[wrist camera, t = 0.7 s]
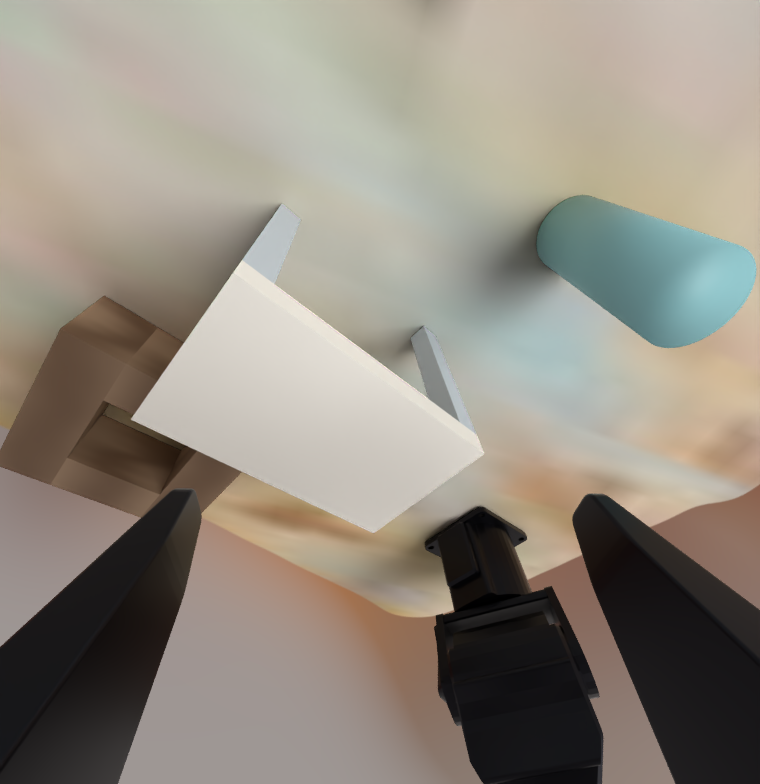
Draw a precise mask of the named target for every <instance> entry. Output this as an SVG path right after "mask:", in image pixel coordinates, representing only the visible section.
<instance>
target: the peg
mask: <svg viewBox="0 0 760 784" xmlns="http://www.w3.org/2000/svg"><path fill="white" fill-rule="evenodd" d="M536 247H537V252H538V255H539V258H540V259H541V261H542V262H543V263H544V264H545V265H546V266H548V267H549V268H550V269H552V270H553V271H554V272H556V273H557V274H558V275H560V276H561V277H563V278H564V279H565V280H567V281H568V282H569V283H571V284H572V285H573V286H575V287H576V288H577V289H579V290H580V291H581V292H583V293H584V294H585V295H587V296H588V297H589V298H591V299H592V300H593V301H595V302H596V303H597V304H599V305H600V306H601V307H603V308H604V309H605V310H607V311H608V312H609V313H611V314H612V315H613V316H615V317H616V318H617V319H619V320H620V321H621V322H623V323H624V324H625V325H627V326H628V327H629V328H631V329H632V330H633V331H635V332H636V333H638V334H639V335H640V336H642V337H643V338H644V339H646V340H647V341H648V342H650V343H651V344H653V345H655V346H658V347H663V348H676V347H682V346H686V345H689V344H692V343H695V342H697V341H699V340H702V339H703V338H705V337H707V336H709V335H711V334H712V333H714V332H715V331H717V330H718V329H719V328H721V327H722V326H723V325H724V324H726V323H727V322H728V321H729V320H730V319H731V318H732V317H733V316H734V315H735V314H736V313H737V312H738V311H739V309H740V308H741V307H742V305H743V304H744V303H745V301H746V299H747V298H748V296H749V294H750V292H751V290H752V288H753V285H754V282H755V277H756V263H755V260H754V258H753V256H752V254H751V253H750V252H749V251H748V250H747V249H745V248H744V247H742V246H739V245H737V244H734V243H731V242H728V241H725V240H722V239H719V238H716V237H713V236H709V235H706V234H703V233H700V232H697V231H694V230H691V229H688V228H685V227H682V226H679V225H676V224H673V223H670V222H667V221H664V220H661V219H658V218H655V217H652V216H649V215H646V214H643V213H640V212H637V211H634V210H631V209H628V208H625V207H622V206H619V205H616V204H613V203H610V202H607V201H604V200H601V199H598V198H595V197H592V196H587V195H579V196H574V197H571V198H568V199H566V200H564V201H563V202H561V203H560V204H558V205H557V206H556V207H554V208H553V209H552V210H551V211H550V212H549V214H548V215H547V216H546V218H545V219H544V221H543V222H542V224H541V226H540V229H539V231H538V235H537V241H536Z"/></svg>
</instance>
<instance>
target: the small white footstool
mask: <svg viewBox="0 0 760 784" xmlns="http://www.w3.org/2000/svg"><path fill="white" fill-rule="evenodd" d="M300 221H301V219H300V218H298V217H297V216H296V215H295V214H294V213H293V212H292V211H290V210H289V209H288V208H287V207H286V206H285V205H283V204H281V205H280V207H279V208H278V210H277V211H276V213H275V214H274V215H273V217H272V218H271V220H270V221H269V222H268V224H267V225H266V227H265V228H264V230H263V231H262V232H261V234H260V235H259V237H258V238H257V239H256V241H255V242H254V244H253V245H252V247H251V248H250V249H249V251H248V252H247V254H246V255H245V256H244V258H243V259H242V261H241V262H240V264H239V265H238V266H237V268H236V269H235V271H234V272H233V273H232V275H231V276H230V278H229V279H228V281H227V282H226V283H225V285H224V286H223V288H222V289H221V291H220V292H219V294H218V295H217V296H216V298H215V299H214V301H213V302H212V304H211V305H210V306H209V308H208V309H207V311H206V312H205V314H204V315H203V316H202V318H201V319H200V321H199V322H198V324H197V325H196V327H195V328H194V329H193V331H192V332H191V334H190V335H189V337H188V338H187V339H186V341H185V342H184V344H183V345H182V347H181V348H180V349H179V351H178V352H177V354H176V355H175V357H174V358H173V360H172V361H171V362H170V364H169V365H168V367H167V368H166V370H165V371H164V372H163V374H162V375H161V377H160V378H159V380H158V381H157V382H156V384H155V385H154V387H153V388H152V390H151V391H150V393H149V394H148V395H147V397H146V398H145V400H144V401H143V403H142V404H141V405H140V407H139V408H138V410H137V411H136V413H135V414H134V415H133V417H132V418H131V420H133V421H135V422H137V423H139V424H141V425H143V426H146V427H148V428H150V429H152V430H154V431H156V432H158V433H160V434H163V435H165V436H167V437H169V438H171V439H173V440H175V441H178V442H180V443H182V444H184V445H186V446H188V447H190V448H192V449H195V450H197V451H199V452H201V453H203V454H205V455H207V456H210V457H212V458H214V459H216V460H218V461H220V462H222V463H224V464H227V465H229V466H231V467H233V468H235V469H237V470H239V471H242V472H244V473H246V474H248V475H250V476H252V477H254V478H256V479H259V480H261V481H263V482H265V483H267V484H269V485H271V486H273V487H276V488H278V489H280V490H282V491H284V492H286V493H288V494H291V495H293V496H295V497H297V498H299V499H301V500H303V501H305V502H308V503H310V504H312V505H314V506H316V507H318V508H320V509H323V510H325V511H327V512H329V513H331V514H333V515H335V516H337V517H340V518H342V519H344V520H346V521H348V522H350V523H352V524H355V525H357V526H359V527H361V528H363V529H365V530H367V531H369V532H372V533H375V532H376V531H377V530H379V529H380V528H382V527H383V526H384V525H386V524H387V523H389V522H390V521H391V520H393V519H394V518H396V517H397V516H398V515H400V514H401V513H403V512H404V511H405V510H407V509H408V508H410V507H411V506H412V505H414V504H415V503H417V502H418V501H419V500H421V499H422V498H423V497H425V496H426V495H428V494H429V493H430V492H432V491H433V490H435V489H436V488H437V487H439V486H440V485H442V484H443V483H444V482H446V481H447V480H449V479H450V478H451V477H453V476H454V475H456V474H457V473H458V472H460V471H461V470H463V469H464V468H465V467H467V466H468V465H469V464H471V463H472V462H474V461H475V460H476V459H478V458H479V457H481V456H482V455H483V454H484V451H483V449H482V446H481V444H480V442H479V439H478V437H477V434H476V432H475V429H474V427H473V425H472V422H471V420H470V417H469V415H468V412H467V410H466V408H465V405H464V403H463V400H462V398H461V396H460V393H459V391H458V388H457V386H456V383H455V381H454V379H453V376H452V374H451V371H450V369H449V366H448V364H447V362H446V359H445V357H444V354H443V352H442V350H441V347H440V345H439V342H438V340H437V337H436V336H435V335H434V334H433V333H432V332H430V331H429V330H428V329H427V328H426V327H425V326H423V327H422V328H421V329H420V330H419V331H418V332H417V333H416V334H414V335H413V336H412V337H411V341H412V345H413V348H414V352H415V355H416V358H417V362H418V365H419V368H420V372H421V375H422V379H423V382H424V385H425V389H426V392H427V396H428V398H427V397H425V396H424V395H423V394H421V393H420V392H419V391H417V390H416V389H415V388H413V387H412V386H410V385H409V384H408V383H406V382H405V381H404V380H402V379H401V378H400V377H398V376H397V375H396V374H394V373H393V372H392V371H390V370H389V369H388V368H386V367H385V366H384V365H382V364H381V363H380V362H378V361H377V360H376V359H374V358H373V357H372V356H370V355H369V354H368V353H366V352H365V351H364V350H362V349H361V348H359V347H358V346H357V345H355V344H354V343H353V342H351V341H350V340H349V339H347V338H346V337H345V336H343V335H342V334H341V333H339V332H338V331H337V330H335V329H334V328H333V327H331V326H330V325H329V324H327V323H326V322H325V321H323V320H322V319H321V318H319V317H318V316H317V315H315V314H314V313H313V312H311V311H310V310H308V309H307V308H306V307H304V306H303V305H302V304H300V303H299V302H298V301H296V300H295V299H294V298H292V297H291V296H290V295H288V294H287V293H286V292H284V291H283V290H282V289H280V288H279V287H278V286H276V285H275V281H276V279H277V277H278V274H279V272H280V269H281V267H282V265H283V262H284V260H285V257H286V255H287V253H288V250H289V248H290V245H291V243H292V240H293V238H294V236H295V233H296V231H297V228H298V226H299V224H300Z"/></svg>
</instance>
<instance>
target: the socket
mask: <svg viewBox="0 0 760 784" xmlns="http://www.w3.org/2000/svg"><path fill="white" fill-rule="evenodd" d="M183 344H184V343H183V342H182V341H180V340H178V339H176V338H175V337H173V336H171V335H170V334H168V333H166V332H165V331H163V330H161V329H160V328H158V327H156V326H154V325H153V324H151V323H149V322H148V321H146V320H144V319H143V318H141V317H139V316H138V315H136V314H134V313H133V312H131V311H129V310H127V309H126V308H124V307H122V306H121V305H119V304H117V303H116V302H114V301H112V300H111V299H109V298H107V297H106V296H103V297H102V298H101V299H99V300H98V301H97V302H95V303H94V304H93V305H91V306H90V307H89V308H87V309H86V310H85V311H83V312H82V313H81V314H79V315H78V316H77V317H75V318H74V319H73V320H72V321H70V322H69V323H68V324H66V325H65V326H64V327H62V328H61V329H60V331H59V333H58V335H57V337H56V339H55V341H54V343H53V345H52V347H51V349H50V351H49V353H48V355H47V357H46V359H45V361H44V363H43V365H42V367H41V369H40V371H39V373H38V375H37V377H36V379H35V381H34V383H33V385H32V387H31V389H30V391H29V393H28V395H27V397H26V399H25V401H24V403H23V405H22V407H21V409H20V411H19V413H18V415H17V417H16V419H15V421H14V423H13V425H12V427H11V429H10V431H9V433H8V435H7V437H6V440H5V442H4V443H3V446H2V448H1V450H0V467H3V468H5V469H8V470H11V471H14V472H17V473H19V474H22V475H25V476H28V477H31V478H33V479H36V480H39V481H41V482H44V483H47V484H50V485H52V486H55V487H58V488H61V489H63V490H66V491H69V492H72V493H75V494H77V495H80V496H83V497H86V498H88V499H91V500H94V501H97V502H99V503H102V504H105V505H108V506H110V507H114V508H116V509H119V510H122V511H124V512H127V513H130V514H133V515H135V516H138V517H141V518H142V517H143V516H144V515H145V514H146V513H147V512H148V511H149V510H150V509H151V508H153V507H154V506H155V505H156V504H157V503H158V502H159V501H160V500H161V499H162V498H164V497H165V496H166V495H167V494H168V493H169V492H170V491H171V490H173V489H177V488H191V489H194V490H195V491H196V494H197V498H198V502H199V505H200V509H201V513H202V512H203V511H204V510H205V509H206V508H207V507H208V506H209V505H210V504H211V503H212V502H213V501H214V500H215V499H216V498H217V497H218V496H219V495H220V494H221V493H222V492H223V491H224V490H225V488H226V487H227V486H228V485H229V484H230V483H231V482H232V481H233V480H234V479H235V478H236V477H237V476H238V475H239V474H240V473H241V472H242V471H239V470H237V469H235V468H233V467H231V466H229V465H227V464H224V463H222V462H220V461H218V460H216V459H214V458H212V457H210V456H207V455H205V454H203V453H201V452H199V451H197V450H195V449H192V448H190V447H188V446H185V447H184V448H183V449H182V450H181V451H180V450H178V449H176V448H174V447H171V446H169V445H167V444H165V443H163V442H161V441H158V440H156V439H154V438H152V437H150V436H148V435H145V434H143V433H141V432H139V431H137V430H134V429H132V428H130V427H128V426H126V425H124V424H121V423H119V422H117V421H115V420H113V419H111V418H108V417H106V416H104V415H102V414H103V413H104V411H105V409H106V408H107V406H108V405H109V403H110V404H112V405H114V406H116V407H118V408H120V409H122V410H125V411H127V412H129V413H131V414H133V415H134V414H135V413H136V411H137V410H138V408H139V407H140V405H141V404H142V403H143V401H144V400H145V398H146V397H147V395H148V394H149V393H150V391H151V390H152V388H153V387H154V385H155V384H156V382H157V381H158V380H159V378H160V377H161V375H162V374H163V372H164V371H165V370H166V368H167V367H168V365H169V364H170V362H171V361H172V360H173V358H174V357H175V355H176V354H177V352H178V351H179V349H180V348H181V347H182V345H183Z"/></svg>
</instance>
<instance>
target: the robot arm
mask: <svg viewBox="0 0 760 784" xmlns="http://www.w3.org/2000/svg"><path fill="white" fill-rule="evenodd" d="M201 517H202V515H201V509H200V505H199V502H198V498H197V494H196V491H195V490H194V489H191V488H177V489H173V490H171V491H170V492H169V493H168V494H167V495H166V496H165V497H164V498H162V499H161V500H160V501H159V502H158V503H157V504H156V505H155V506H154V507H153V508H151V509H150V510H149V511H148V512H147V513H146V514H145V515H144V516H143V517H142V518H141V519H140V520H138V521H137V522H136V523H135V524H134V525H133V526H132V527H131V528H130V529H129V530H127V531H126V532H125V533H124V534H123V535H122V536H121V537H120V538H119V539H118V540H117V541H116V542H114V543H113V544H112V545H111V546H110V547H109V548H108V549H107V550H106V551H105V552H103V553H102V554H101V555H100V556H99V557H98V558H97V559H96V560H95V561H94V562H93V563H92V564H90V565H89V566H88V567H87V568H86V569H85V570H84V571H83V572H82V573H81V574H79V575H78V576H77V577H76V578H75V579H74V580H73V581H72V582H71V583H70V584H69V585H67V587H65V588H64V589H63V590H62V591H61V592H60V593H59V594H58V595H56V596H55V597H54V598H53V599H52V600H51V601H50V602H49V603H48V604H47V605H46V606H44V608H42V609H41V610H40V611H39V612H38V613H37V614H36V615H35V616H34V617H32V618H31V619H30V620H29V621H28V622H27V623H26V624H25V625H24V626H23V627H22V628H20V629H19V630H18V631H17V632H16V633H15V634H14V635H13V636H12V637H11V638H10V639H8V640H7V641H6V642H5V643H4V644H3V645H2V646H1V647H0V784H118V782H119V779H120V776H121V773H122V771H123V768H124V765H125V762H126V759H127V756H128V753H129V751H130V748H131V745H132V742H133V739H134V736H135V734H136V731H137V728H138V725H139V722H140V719H141V716H142V713H143V710H144V708H145V705H146V702H147V699H148V696H149V694H150V691H151V688H152V685H153V682H154V679H155V677H156V674H157V671H158V668H159V665H160V662H161V659H162V657H163V654H164V651H165V648H166V645H167V642H168V640H169V637H170V634H171V631H172V628H173V625H174V622H175V619H176V616H177V614H178V611H179V608H180V605H181V602H182V599H183V596H184V592H185V588H186V584H187V580H188V576H189V572H190V568H191V563H192V558H193V554H194V550H195V546H196V542H197V537H198V533H199V529H200V525H201ZM572 521H573V526H574V529H575V533H576V536H577V539H578V542H579V545H580V548H581V552H582V555H583V558H584V561H585V564H586V568H587V570H588V573H589V577H590V580H591V583H592V586H593V588H594V591H595V593H596V596H597V598H598V601H599V603H600V606H601V608H602V610H603V613H604V615H605V617H606V620H607V622H608V625H609V626H610V629H611V632H612V634H613V636H614V639H615V641H616V644H617V646H618V648H619V651H620V653H621V655H622V658H623V660H624V662H625V665H626V667H627V670H628V672H629V674H630V677H631V679H632V682H633V684H634V686H635V689H636V691H637V693H638V696H639V698H640V701H641V703H642V705H643V708H644V710H645V712H646V715H647V717H648V720H649V722H650V724H651V727H652V729H653V732H654V734H655V736H656V739H657V741H658V743H659V746H660V748H661V751H662V753H663V755H664V758H665V760H666V762H667V765H668V767H669V770H670V772H671V774H672V777H673V779H674V781H675V784H760V610H759V609H758V608H756V607H755V606H754V605H752V604H751V603H750V602H748V601H747V600H746V599H744V598H743V597H742V596H740V595H739V594H738V593H736V592H735V591H734V590H732V589H731V588H730V587H728V586H727V585H726V584H724V583H723V582H722V581H720V580H719V579H718V578H716V577H715V576H714V575H712V574H711V573H710V572H708V571H707V570H706V569H704V568H703V567H702V566H700V565H699V564H698V563H696V562H695V561H694V560H692V559H691V558H690V557H688V556H687V555H686V554H684V553H683V552H682V551H680V550H679V549H678V548H676V547H675V546H674V545H672V544H671V543H670V542H668V541H667V540H666V539H664V538H663V537H662V536H660V535H659V534H658V533H656V532H655V531H654V530H652V529H651V528H650V527H648V526H647V525H646V524H644V523H643V522H642V521H640V520H639V519H638V518H636V517H635V516H634V515H632V514H631V513H630V512H628V511H627V510H626V509H624V508H623V507H622V506H620V505H619V504H618V503H616V502H615V501H614V500H612V499H611V498H610V497H608V496H607V495H604V494H587V495H585V497H584V498H583V499H582V501H581V503H580V504H579V506H578V507H577V509H576V511H575V512H574V514H573V519H572ZM526 540H527V536H526V534H525V532H523V531H522V530H520V529H518V528H517V527H515V526H514V525H512V524H510V523H509V522H507V521H505V520H504V519H502V518H501V517H499V516H497V515H496V514H494V513H492V512H491V511H489V510H488V509H486V508H484V507H480V508H477V509H475V510H474V511H472V512H471V513H469V514H468V515H466V516H465V517H463V518H462V519H460V520H458V521H457V522H455V523H454V524H452V525H451V526H449V527H448V528H446V529H445V530H443V531H442V532H440V533H438V534H437V535H435V536H434V537H432V538H431V539H429V540H428V541H426V542H425V549H426V550H427V551H429V552H431V553H433V554H435V555H437V556H439V557H441V559H442V563H443V568H444V573H445V577H446V582H447V585H448V586H449V589H450V593H451V598H452V602H453V607H454V611H455V612H453V613H449V614H445V615H443V614H439V615H436V624H437V625H436V626H435V627H434V630H435V636H436V641H437V652H438V692H439V696H440V698H442V699H443V700H444V701H445V702H446V703H447V705H448V708H449V710H450V712H451V715H452V718H453V720H454V722H455V724H456V725H457V726H461V725H462V729H463V733H464V738H465V742H466V746H467V750H468V754H469V759H470V762H471V764H472V766H473V768H474V769H475V771H476V772H477V774H478V776H479V778H480V779H481V781H482V782H483V783H484V784H602V765H603V733H602V730H601V727H600V724H599V722H598V719H597V717H596V714H595V712H594V709H593V707H592V704H591V702H590V699H593V698H598V697H600V696H599V692H598V689H597V686H596V684H595V680H594V678H593V675H592V673H591V670H590V668H589V665H588V663H587V660H586V658H585V656H584V654H583V651H582V649H581V647H580V644H579V642H578V640H577V638H576V636H575V634H574V632H573V630H572V628H571V625H570V623H569V621H568V619H567V617H566V615H565V613H564V611H563V609H562V607H561V605H560V603H559V600H558V599H557V596H556V594H555V592H554V590H553V588H552V586H550V587H546V588H544V590H540V591H536V592H532V591H531V588H530V586H529V583H528V581H527V578H526V575H525V573H524V570H523V568H522V565H521V563H520V560H519V558H518V555H517V553H516V550H515V546H517V545H519V544H521V543H522V542H524V541H526ZM553 623H555V624H553ZM549 624H551V625H549Z"/></svg>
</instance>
